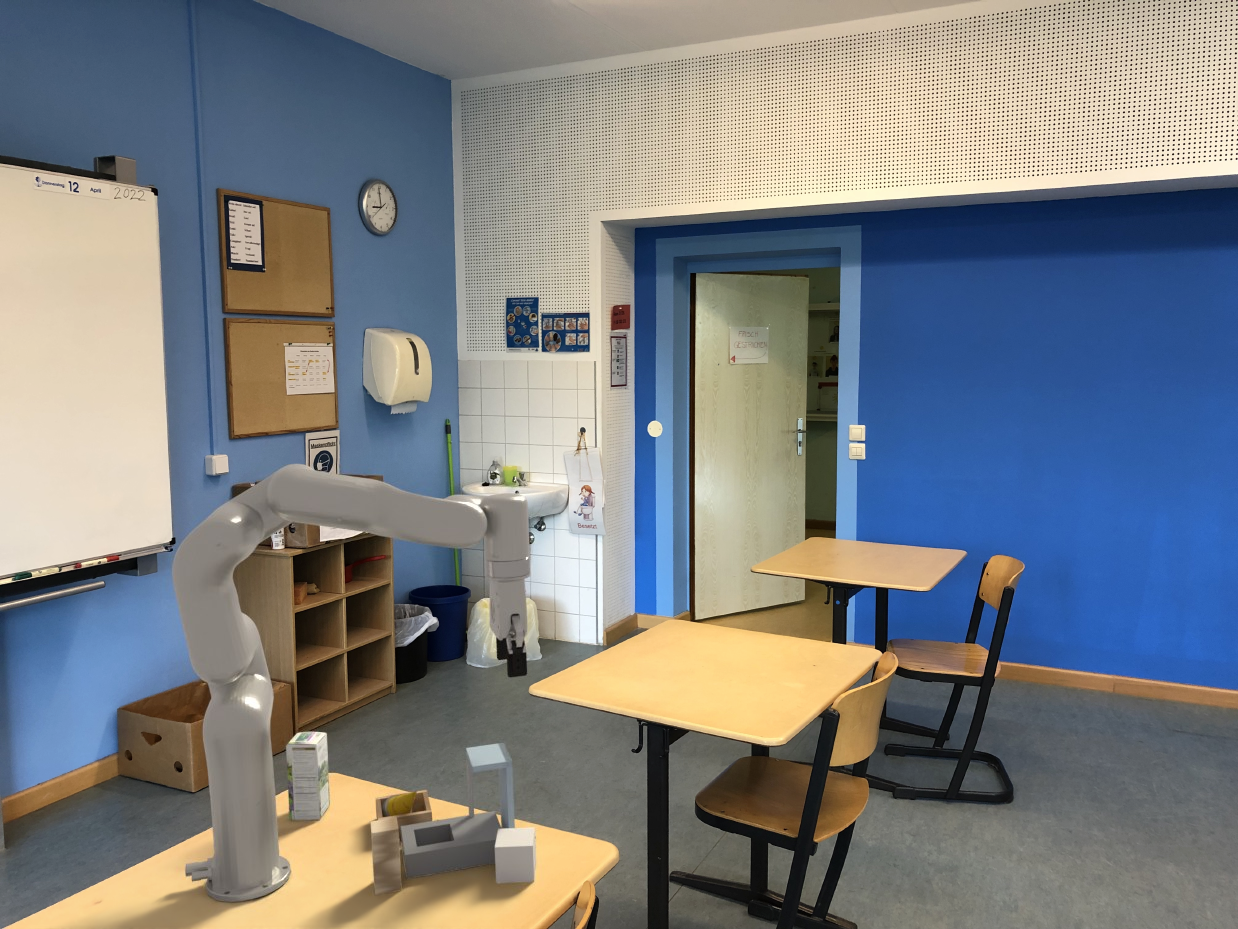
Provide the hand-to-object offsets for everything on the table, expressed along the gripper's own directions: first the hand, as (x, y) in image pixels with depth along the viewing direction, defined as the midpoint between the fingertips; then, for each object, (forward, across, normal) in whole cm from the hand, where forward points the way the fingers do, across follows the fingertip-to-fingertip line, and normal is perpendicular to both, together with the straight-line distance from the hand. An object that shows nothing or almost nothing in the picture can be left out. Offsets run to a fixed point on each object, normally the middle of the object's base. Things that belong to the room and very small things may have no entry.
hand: (511, 667), depth 159 cm
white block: (+30, +11, -3) cm, 33 cm away
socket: (+30, +2, -12) cm, 32 cm away
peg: (+30, +8, -22) cm, 38 cm away
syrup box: (+30, -22, -34) cm, 51 cm away
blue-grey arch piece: (+30, +1, -5) cm, 30 cm away
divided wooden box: (+30, -11, -18) cm, 37 cm away
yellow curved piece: (+30, -11, -18) cm, 37 cm away
